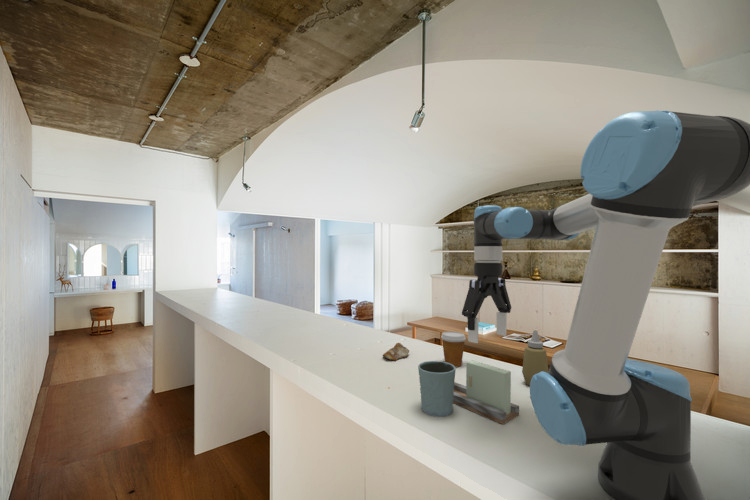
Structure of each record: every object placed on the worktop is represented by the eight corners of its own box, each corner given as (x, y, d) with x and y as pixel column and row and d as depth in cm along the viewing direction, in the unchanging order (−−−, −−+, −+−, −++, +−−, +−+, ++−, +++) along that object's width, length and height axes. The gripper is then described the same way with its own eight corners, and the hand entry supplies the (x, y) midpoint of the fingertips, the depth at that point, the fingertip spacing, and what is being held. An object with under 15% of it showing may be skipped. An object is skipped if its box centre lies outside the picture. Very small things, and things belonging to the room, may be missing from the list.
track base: (519, 415, 92) (519, 405, 92) (502, 424, 87) (502, 414, 87) (448, 387, 111) (448, 379, 111) (431, 393, 106) (431, 385, 106)
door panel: (510, 412, 91) (510, 371, 91) (503, 416, 89) (503, 373, 89) (472, 397, 101) (472, 360, 101) (465, 400, 99) (465, 362, 99)
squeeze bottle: (520, 386, 112) (521, 331, 112) (523, 378, 119) (523, 327, 120) (548, 391, 108) (548, 334, 109) (549, 383, 116) (549, 329, 116)
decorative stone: (412, 342, 148) (399, 355, 135) (413, 352, 149) (399, 366, 135) (392, 339, 153) (377, 352, 139) (393, 349, 153) (377, 362, 140)
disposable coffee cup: (466, 369, 129) (466, 337, 129) (440, 367, 130) (440, 336, 131) (465, 361, 138) (465, 331, 138) (440, 360, 140) (441, 330, 140)
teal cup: (459, 407, 97) (460, 364, 97) (448, 421, 88) (448, 375, 88) (426, 399, 102) (426, 358, 102) (412, 412, 93) (412, 368, 93)
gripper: (500, 261, 106) (500, 330, 106) (448, 261, 91) (448, 342, 90) (523, 262, 100) (523, 334, 100) (472, 262, 85) (472, 348, 84)
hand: (487, 338), depth 95 cm, fingers open, 13 cm apart
